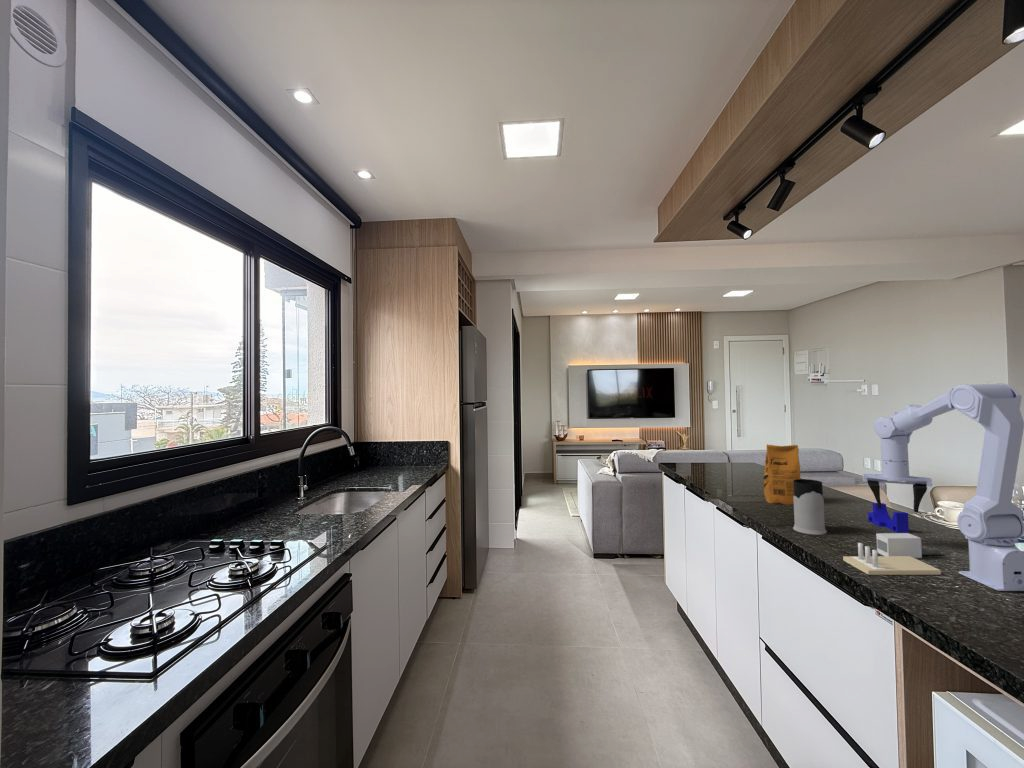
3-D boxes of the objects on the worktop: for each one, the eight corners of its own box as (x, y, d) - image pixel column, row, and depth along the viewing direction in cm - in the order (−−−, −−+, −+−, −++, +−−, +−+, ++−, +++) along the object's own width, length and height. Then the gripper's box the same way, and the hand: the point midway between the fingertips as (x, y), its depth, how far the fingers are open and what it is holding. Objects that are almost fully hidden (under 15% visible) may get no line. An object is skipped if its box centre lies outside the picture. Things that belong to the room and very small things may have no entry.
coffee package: (763, 497, 180) (760, 442, 181) (799, 500, 175) (797, 443, 176) (765, 503, 171) (763, 445, 172) (803, 506, 166) (801, 446, 166)
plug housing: (947, 557, 115) (946, 537, 115) (888, 558, 116) (887, 538, 116) (933, 552, 119) (932, 532, 119) (876, 552, 120) (875, 533, 120)
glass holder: (799, 534, 136) (797, 484, 136) (782, 520, 150) (780, 475, 150) (832, 535, 134) (830, 484, 134) (812, 521, 148) (810, 475, 148)
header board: (941, 574, 105) (940, 553, 105) (868, 574, 106) (867, 553, 106) (909, 560, 114) (909, 540, 114) (843, 560, 115) (842, 540, 115)
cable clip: (868, 521, 146) (867, 503, 147) (883, 521, 146) (883, 503, 146) (891, 533, 135) (890, 513, 135) (908, 533, 134) (908, 513, 134)
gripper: (927, 460, 124) (930, 509, 124) (861, 457, 132) (863, 503, 132) (932, 463, 118) (934, 515, 118) (862, 460, 127) (864, 508, 126)
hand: (897, 509), depth 125 cm, fingers open, 7 cm apart
